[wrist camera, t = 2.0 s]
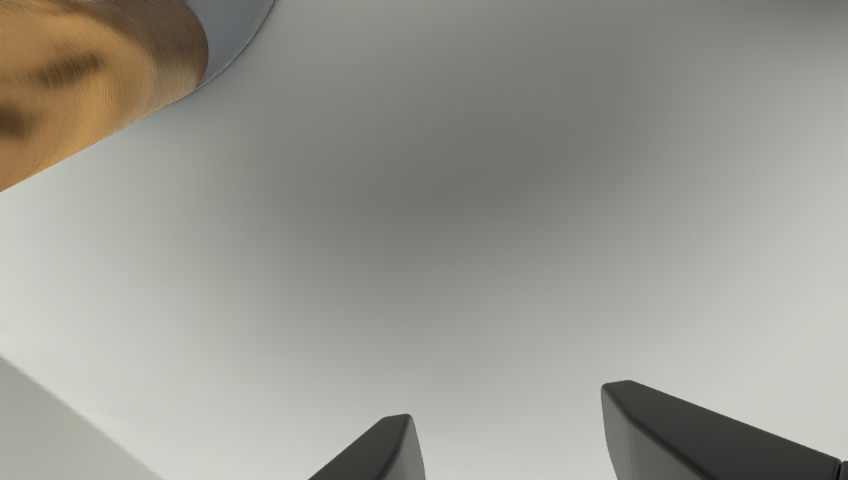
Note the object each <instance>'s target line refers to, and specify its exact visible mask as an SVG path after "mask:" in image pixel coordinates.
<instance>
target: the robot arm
mask: <svg viewBox="0 0 848 480" xmlns="http://www.w3.org/2000/svg"><path fill="white" fill-rule="evenodd" d="M601 400H602V409H603V418H604V428H605V436H606V442H607V447H608V451H609V454H610V458H611V461H612V464H613V467H614V470H615V473H616V476H617V479H618V480H848V461H843V462H841V460H840V459H838V458H835V457H833V456H830V455H827V454H825V453H822V452H819V451H817V450H814V449H812V448H809V447H806V446H804V445H801V444H798V443H796V442H793V441H790V440H788V439H785V438H782V437H780V436H777V435H775V434H772V433H769V432H767V431H764V430H761V429H759V428H756V427H753V426H751V425H748V424H745V423H743V422H740V421H737V420H735V419H732V418H730V417H727V416H724V415H722V414H719V413H716V412H714V411H711V410H708V409H706V408H703V407H700V406H698V405H695V404H693V403H690V402H687V401H685V400H682V399H679V398H677V397H674V396H671V395H669V394H666V393H663V392H661V391H658V390H656V389H653V388H650V387H648V386H645V385H642V384H640V383H637V382H634V381H632V380H624V381H618V382H611V383H606V384H604V385H603V386H602V387H601ZM308 480H426V479H425V470H424V464H423V459H422V455H421V450H420V446H419V442H418V437H417V433H416V429H415V424H414V421H413V418H412V416H411V415H409V414H401V415H394V416H388V417H384V418H382V419H381V420H379V421H378V422H377V423H376V424H375V425H373V426H372V427H371V428H370V429H369V430H367V431H366V432H365V433H364V434H363V435H361V436H360V437H359V438H358V439H357V440H355V441H354V442H353V443H352V444H351V445H349V446H348V447H347V448H346V449H344V450H343V451H342V452H341V453H340V454H338V455H337V456H336V457H335V458H334V459H332V460H331V461H330V462H329V463H328V464H326V465H325V466H324V467H323V468H322V469H320V470H319V471H318V472H317V473H316V474H314V475H313V476H312V477H311V478H309V479H308Z"/></svg>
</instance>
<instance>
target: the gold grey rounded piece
mask: <svg viewBox="0 0 848 480" xmlns="http://www.w3.org/2000/svg"><path fill="white" fill-rule="evenodd" d="M273 2H274V0H0V192H1V191H3V190H5V189H7V188H9V187H11V186H13V185H15V184H17V183H19V182H21V181H23V180H25V179H27V178H28V177H30V176H32V175H34V174H36V173H38V172H40V171H42V170H44V169H46V168H48V167H50V166H52V165H54V164H56V163H57V162H59V161H61V160H63V159H65V158H67V157H69V156H71V155H73V154H75V153H77V152H79V151H81V150H83V149H84V148H86V147H88V146H90V145H92V144H94V143H96V142H98V141H100V140H102V139H104V138H106V137H108V136H110V135H112V134H113V133H115V132H117V131H119V130H121V129H123V128H125V127H127V126H129V125H131V124H133V123H135V122H137V121H139V120H140V119H142V118H144V117H146V116H148V115H150V114H152V113H154V112H156V111H158V110H160V109H162V108H164V107H166V106H168V105H170V104H172V103H174V102H176V101H178V100H180V99H182V98H184V97H186V96H188V95H189V94H191V93H193V92H194V91H196V90H197V89H199V88H200V87H202V86H203V85H205V84H206V83H208V82H209V81H211V80H212V79H214V78H215V77H216V76H217V75H218V74H220V73H221V72H222V71H223V70H224V69H225V68H226V67H227V66H228V65H230V64H231V63H232V62H233V61H234V60H235V59H236V58H237V57H238V55H239V54H240V53H241V52H242V51H243V49H244V48H245V47H246V46H247V45H248V43H249V42H250V41H251V40H252V39H253V37H254V36H255V34H256V33H257V31H258V29H259V28H260V26H261V24H262V23H263V21H264V20H265V18H266V16H267V15H268V13H269V11H270V9H271V7H272V5H273Z"/></svg>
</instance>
